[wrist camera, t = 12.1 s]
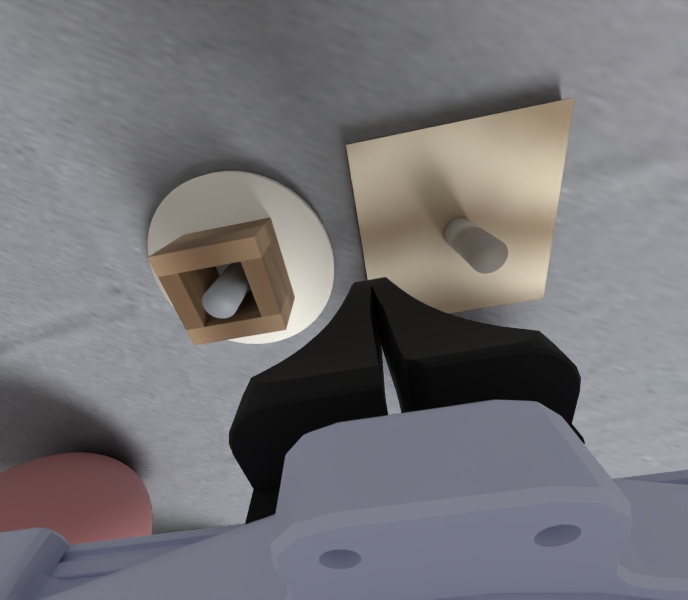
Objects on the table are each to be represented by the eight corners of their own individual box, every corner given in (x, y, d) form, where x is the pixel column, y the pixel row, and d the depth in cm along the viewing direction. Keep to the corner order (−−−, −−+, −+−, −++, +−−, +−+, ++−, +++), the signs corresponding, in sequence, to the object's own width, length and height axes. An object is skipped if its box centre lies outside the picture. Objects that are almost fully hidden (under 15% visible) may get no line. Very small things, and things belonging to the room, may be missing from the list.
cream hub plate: (348, 322, 23) (350, 371, 18) (200, 346, 24) (165, 399, 19) (311, 151, 17) (301, 157, 12) (120, 191, 18) (40, 211, 13)
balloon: (-19, 483, 32) (-277, 734, 19) (62, 390, 26) (-239, 666, 12) (117, 534, 38) (-6, 755, 24) (211, 467, 31) (115, 715, 18)
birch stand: (534, 292, 22) (590, 335, 17) (373, 318, 23) (383, 366, 18) (562, 99, 16) (656, 84, 11) (345, 144, 17) (348, 147, 12)
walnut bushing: (270, 217, 18) (254, 236, 14) (294, 297, 21) (286, 329, 17) (183, 234, 18) (147, 257, 15) (218, 310, 21) (194, 345, 18)
